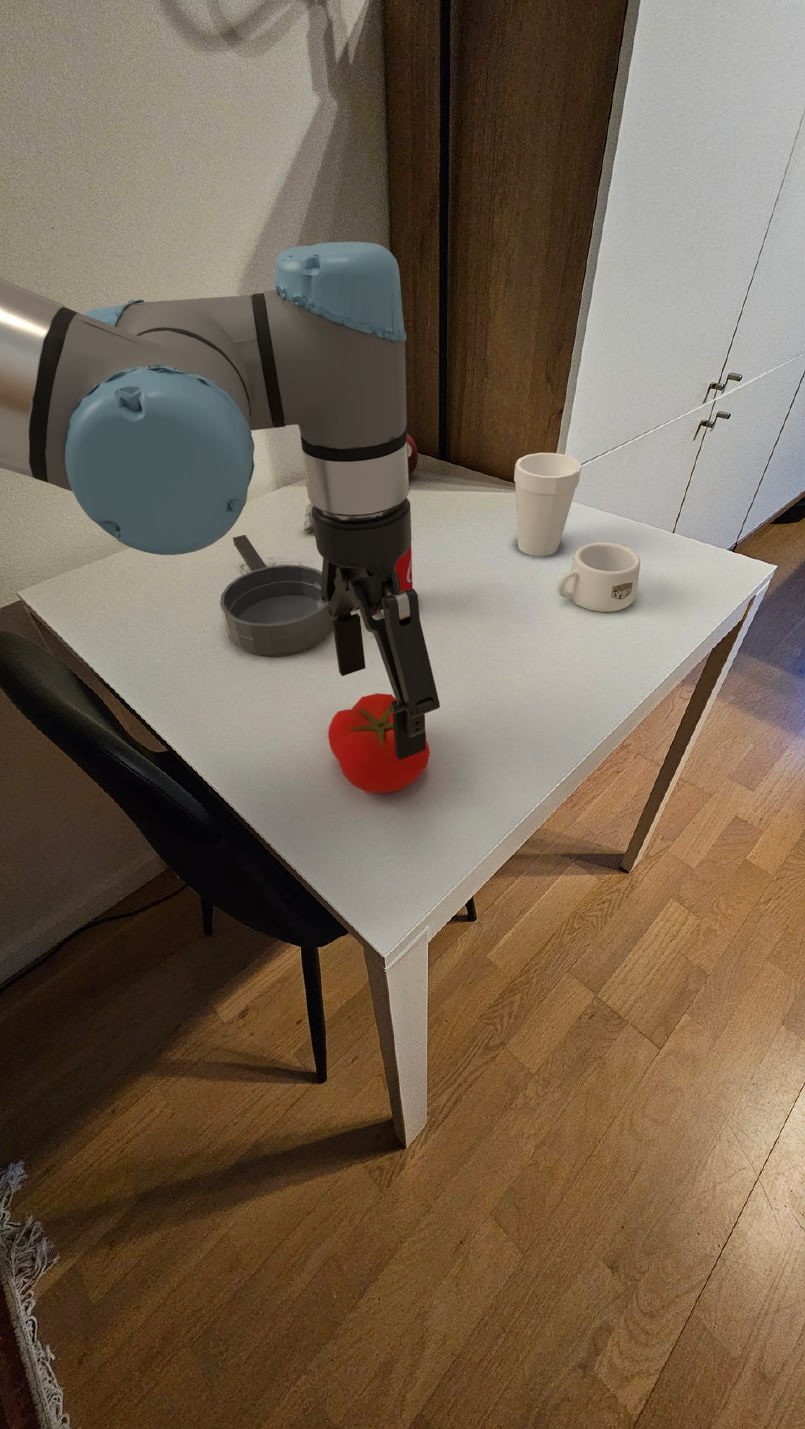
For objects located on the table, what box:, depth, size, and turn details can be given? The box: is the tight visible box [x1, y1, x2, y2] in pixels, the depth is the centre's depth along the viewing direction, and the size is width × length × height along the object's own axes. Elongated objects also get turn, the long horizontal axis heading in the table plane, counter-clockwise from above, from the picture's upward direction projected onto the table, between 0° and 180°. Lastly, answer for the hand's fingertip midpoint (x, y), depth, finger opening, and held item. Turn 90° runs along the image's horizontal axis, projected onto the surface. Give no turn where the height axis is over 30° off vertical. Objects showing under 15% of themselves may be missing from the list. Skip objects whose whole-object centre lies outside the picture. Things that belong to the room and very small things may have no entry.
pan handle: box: [232, 534, 268, 572], centre depth 93 cm, size 2×12×1 cm, turn 26°
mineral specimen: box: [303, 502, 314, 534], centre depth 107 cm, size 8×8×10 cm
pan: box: [219, 564, 334, 657], centre depth 85 cm, size 15×15×5 cm
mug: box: [557, 542, 641, 613], centre depth 87 cm, size 12×10×6 cm
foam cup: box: [513, 452, 583, 557], centre depth 96 cm, size 10×9×13 cm
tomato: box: [327, 692, 431, 794], centre depth 65 cm, size 10×11×6 cm
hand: (379, 708), depth 62 cm, fingers open, 13 cm apart
